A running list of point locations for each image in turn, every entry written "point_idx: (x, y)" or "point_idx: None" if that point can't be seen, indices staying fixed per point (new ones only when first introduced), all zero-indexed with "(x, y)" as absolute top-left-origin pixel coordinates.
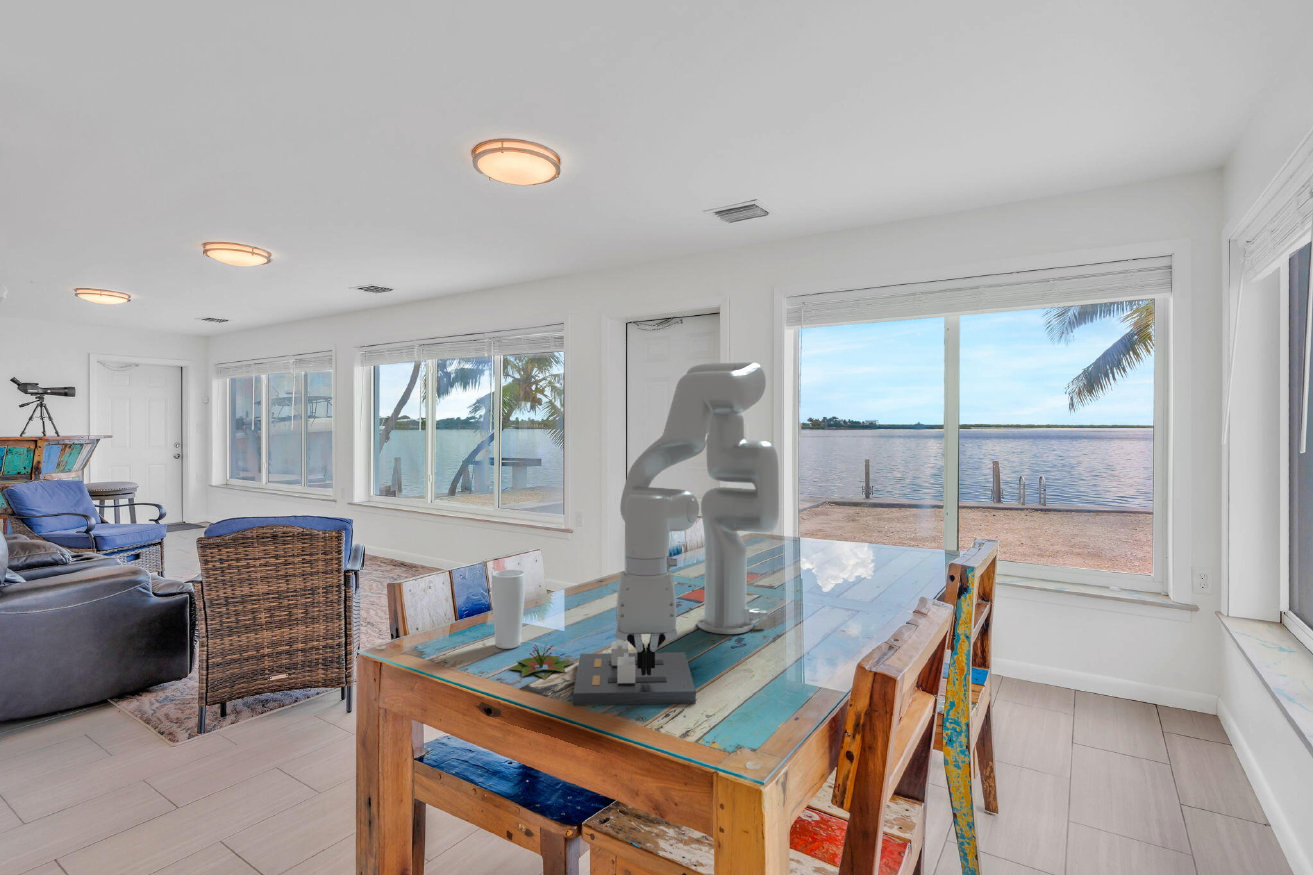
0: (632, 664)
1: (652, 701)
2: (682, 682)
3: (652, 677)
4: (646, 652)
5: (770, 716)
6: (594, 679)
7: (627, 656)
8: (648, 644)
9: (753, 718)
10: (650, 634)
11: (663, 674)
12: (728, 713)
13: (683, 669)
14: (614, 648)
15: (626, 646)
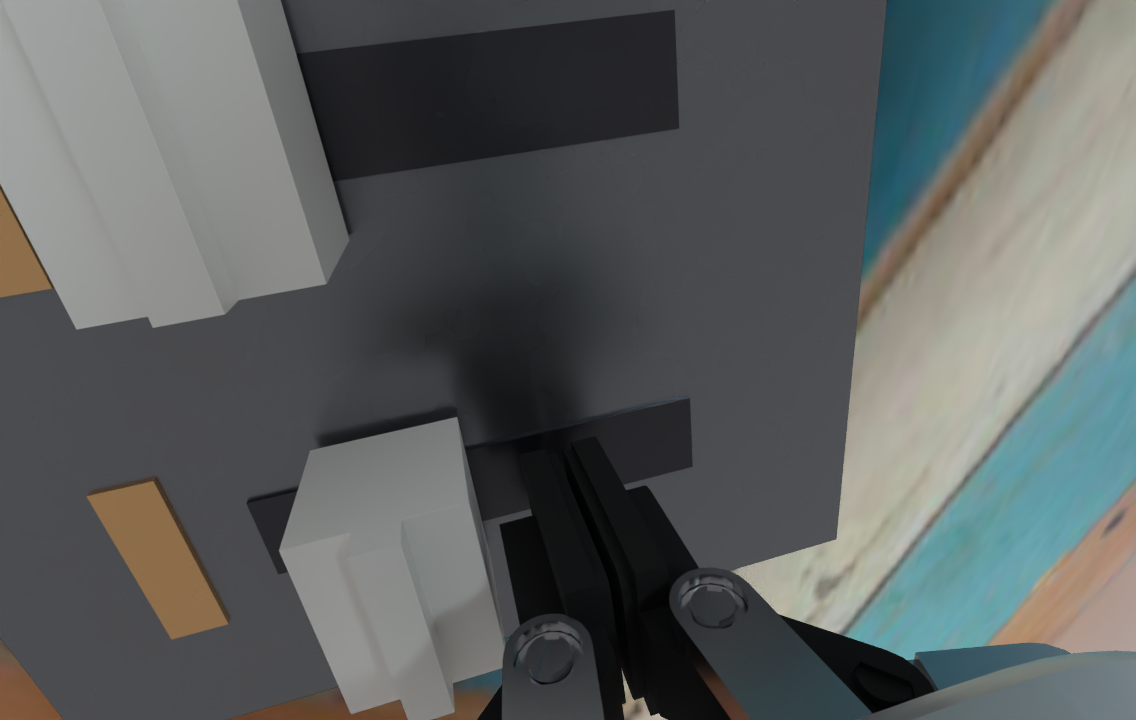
0: (481, 657)
1: None
2: (784, 449)
3: (597, 427)
4: (616, 609)
5: (1042, 530)
6: (142, 560)
7: (411, 618)
8: (667, 669)
9: (980, 559)
10: (743, 714)
11: (672, 350)
12: (906, 547)
13: (822, 227)
14: (117, 304)
15: (274, 195)
